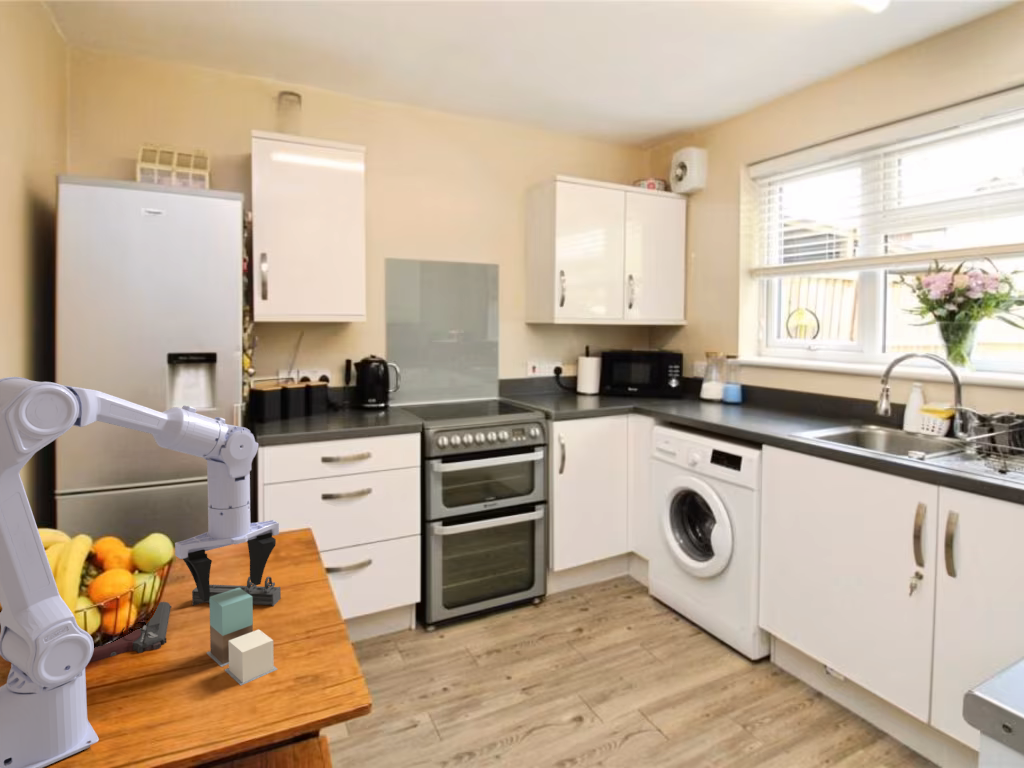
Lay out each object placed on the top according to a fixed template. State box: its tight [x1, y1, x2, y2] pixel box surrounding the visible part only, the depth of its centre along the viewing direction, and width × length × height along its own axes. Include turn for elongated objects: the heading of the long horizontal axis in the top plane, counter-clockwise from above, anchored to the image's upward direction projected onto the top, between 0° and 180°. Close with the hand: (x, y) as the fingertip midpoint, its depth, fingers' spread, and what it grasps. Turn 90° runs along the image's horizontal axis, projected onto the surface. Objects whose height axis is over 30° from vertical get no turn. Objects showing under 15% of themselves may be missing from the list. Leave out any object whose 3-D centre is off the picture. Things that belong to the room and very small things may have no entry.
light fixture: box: [191, 575, 282, 607], centre depth 106 cm, size 3×15×6 cm, turn 88°
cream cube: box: [228, 628, 275, 683], centre depth 85 cm, size 4×4×4 cm
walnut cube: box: [209, 624, 254, 664], centre depth 89 cm, size 4×4×4 cm
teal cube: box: [209, 588, 254, 636], centre depth 89 cm, size 4×4×4 cm
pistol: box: [89, 601, 173, 663], centre depth 94 cm, size 2×15×12 cm
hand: (230, 590), depth 89 cm, fingers open, 7 cm apart
